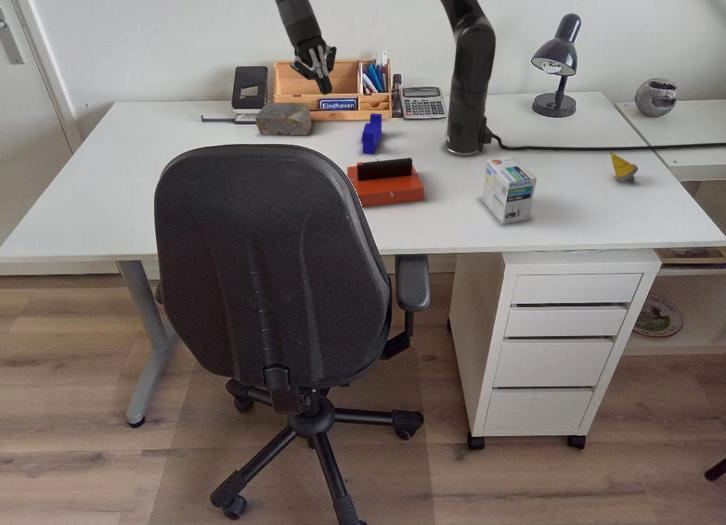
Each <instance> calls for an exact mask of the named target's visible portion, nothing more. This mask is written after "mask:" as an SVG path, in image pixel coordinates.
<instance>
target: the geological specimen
mask: <svg viewBox="0 0 726 525" xmlns="http://www.w3.org/2000/svg"><path fill="white" fill-rule="evenodd" d="M310 110H311V108H310V106H309V105H308V103H306V102H266V104H264V106H263V108H262V109H261V110H259V112H258V114H256V117H255V122H256V127H257V129H258V132H259V134H260V135H263V136H275V135H276V136H280V135H281V136H287V135H290V136H305V137H306V136H307V135H309V134H310V131H311V129H312V124H313V123H312V114H311V111H310Z"/></svg>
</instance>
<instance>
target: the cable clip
mask: <svg viewBox="0 0 726 525" xmlns="http://www.w3.org/2000/svg"><path fill="white" fill-rule="evenodd" d="M382 125H383V114H382V113H373V112H371V113H370V115H369V122H365V125H364V127H363V131H362V136H361V143H362V154H368V155H375V153H376V150H377V147H378V145H379V143H380V139H381V137H382V132H383V126H382Z"/></svg>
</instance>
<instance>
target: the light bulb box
mask: <svg viewBox="0 0 726 525" xmlns="http://www.w3.org/2000/svg"><path fill="white" fill-rule="evenodd" d="M485 167H486V168H485V175H484V181H483V188H482V194H481V195H482V196H481V201H482V202H483V203H484V204H485V205H486V207H487V208H488V209H489V211H490V212H491V213H492V214H493V215H494V216H495V217H496V218H497V220H498V221H499V222H500V224H502V225H505V224H511V223H516V222H521V221H527V220H529V219H530V218H529V217H530V213H531V207H532V204H533V198H534V193H535V188H536V184H537V180H538V178H537V177H536V176H535V175H534V174H533V173H532V172H530V171H529V169H527V168H526V167H525V166H524V165H523V164H522V163H520V161H519V160H517V159H516V157H515V156H513V155H510V156H504V157H497V158H490V159H487V161H486V166H485Z"/></svg>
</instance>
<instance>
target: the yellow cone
mask: <svg viewBox="0 0 726 525" xmlns="http://www.w3.org/2000/svg"><path fill="white" fill-rule="evenodd" d="M609 152H610V153H609V154H610V158H611V162H612V165H613V170H614V174H615V176H614V179H615V181H616V182H617V183H622V182H625V181H628V182H630V183H632V184H635V180H636V178H635V176H634V175H636V173H638V171H639V168H638V166H637V165H636V164H635V163H634V164H633V163H630V162H628V161H627V160H625V159H624V158H622V157H620V156H619V155H617V154H615V153H614V152H612V151H609Z"/></svg>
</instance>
